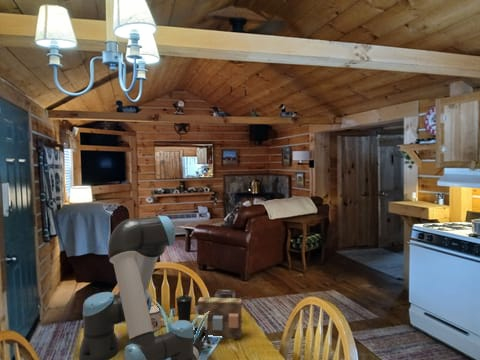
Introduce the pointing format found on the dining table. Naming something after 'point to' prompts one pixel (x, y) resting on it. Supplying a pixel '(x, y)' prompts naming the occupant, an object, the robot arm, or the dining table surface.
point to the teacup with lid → (155, 317)
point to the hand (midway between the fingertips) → (202, 324)
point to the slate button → (218, 322)
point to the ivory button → (204, 321)
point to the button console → (222, 308)
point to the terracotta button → (233, 320)
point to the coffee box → (225, 293)
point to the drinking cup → (184, 306)
